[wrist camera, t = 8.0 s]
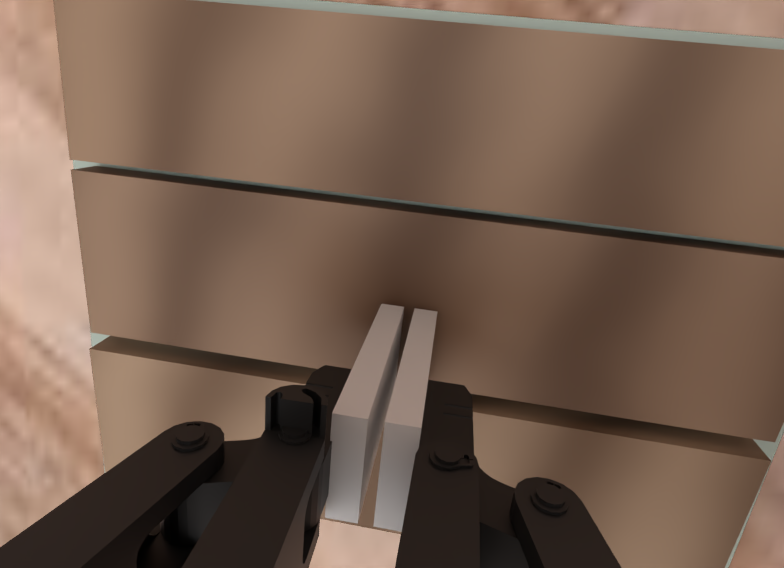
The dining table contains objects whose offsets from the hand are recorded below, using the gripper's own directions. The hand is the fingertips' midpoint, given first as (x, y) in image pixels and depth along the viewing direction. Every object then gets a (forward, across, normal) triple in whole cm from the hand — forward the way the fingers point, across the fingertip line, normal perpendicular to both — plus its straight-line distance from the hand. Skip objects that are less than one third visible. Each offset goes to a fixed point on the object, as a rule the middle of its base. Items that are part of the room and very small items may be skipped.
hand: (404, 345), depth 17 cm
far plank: (+1, 0, +5) cm, 5 cm away
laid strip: (+2, 0, -7) cm, 7 cm away
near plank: (+1, 0, -1) cm, 2 cm away
